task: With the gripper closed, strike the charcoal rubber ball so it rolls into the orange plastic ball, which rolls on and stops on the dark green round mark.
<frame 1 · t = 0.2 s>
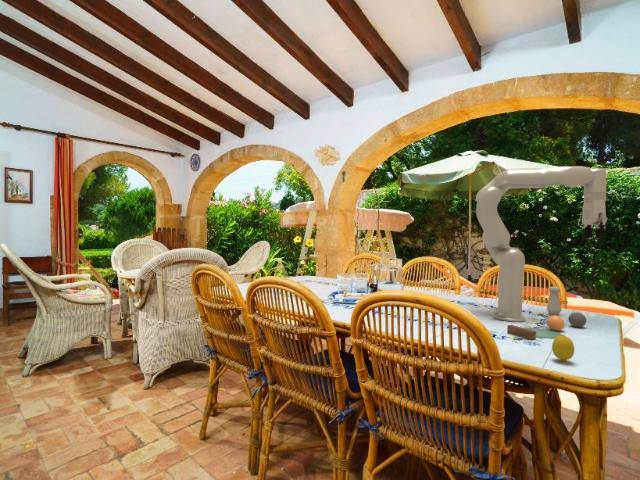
hand: (593, 238, 158), 36 cm above the table, tool pointing down, fingers open, 9 cm apart
green mark: (540, 333, 141), on the table
charcoal ball: (577, 319, 151), on the table
stopper wall: (521, 336, 136), on the table
orange ball: (555, 323, 145), on the table
salt shaker: (553, 314, 174), on the table
lemon: (562, 362, 110), on the table
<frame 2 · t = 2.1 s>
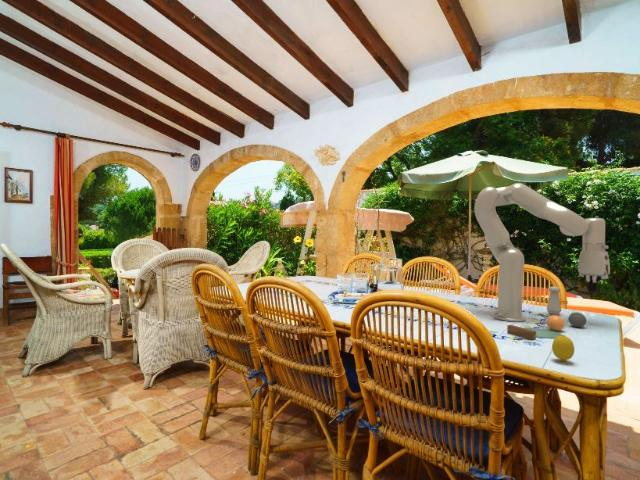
hand: (592, 291, 154), 14 cm above the table, tool pointing down, fingers closed
nothing on the table moved.
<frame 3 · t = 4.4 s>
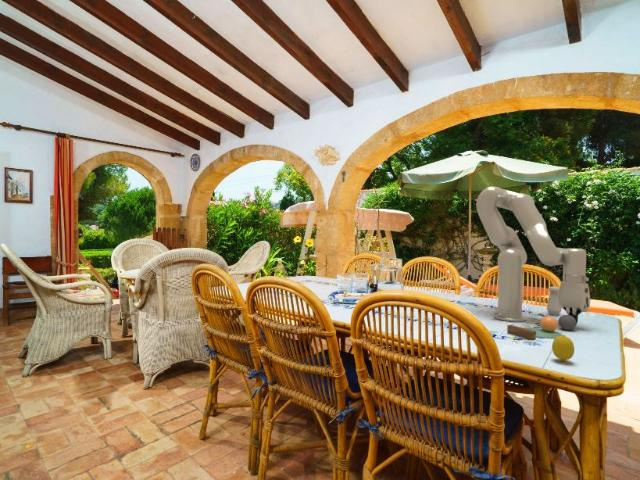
hand: (572, 324, 149), 1 cm above the table, tool pointing down, fingers closed
charcoal ball: (567, 322, 146), on the table
orange ball: (548, 324, 143), on the table
everything else where it was.
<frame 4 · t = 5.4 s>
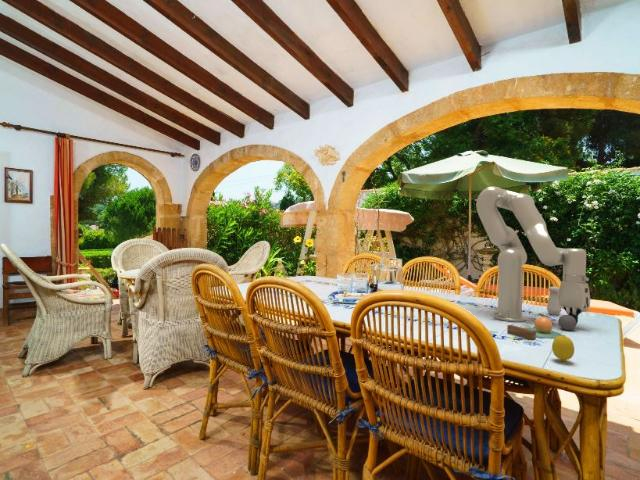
hand: (572, 324, 149), 1 cm above the table, tool pointing down, fingers closed
orange ball: (543, 324, 141), on the table
everything else where it was.
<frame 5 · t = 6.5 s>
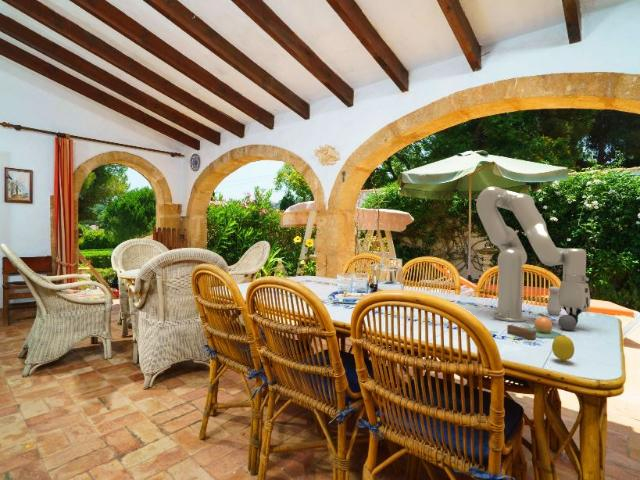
hand: (572, 324, 149), 1 cm above the table, tool pointing down, fingers closed
nothing on the table moved.
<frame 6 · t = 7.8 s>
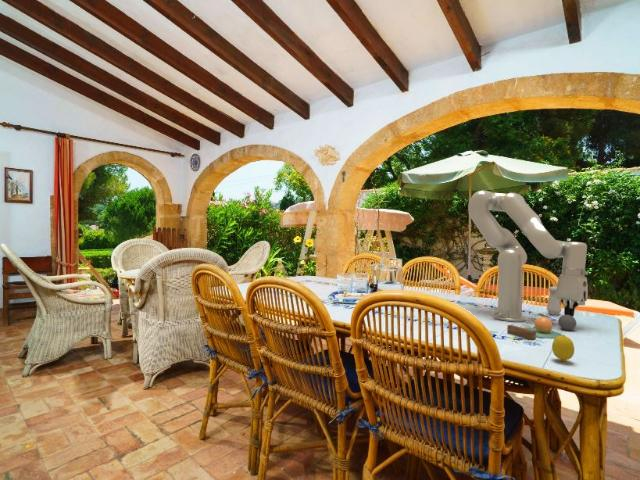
hand: (568, 316, 150), 4 cm above the table, tool pointing down, fingers closed
nothing on the table moved.
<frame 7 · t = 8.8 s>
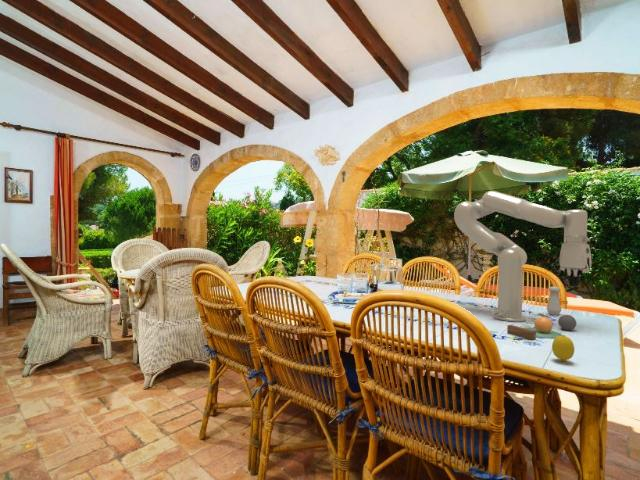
hand: (573, 285, 149), 17 cm above the table, tool pointing down, fingers closed
nothing on the table moved.
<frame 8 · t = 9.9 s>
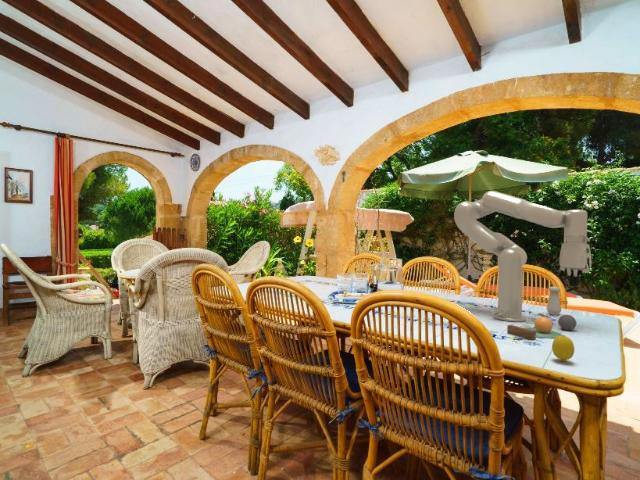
hand: (573, 285, 149), 17 cm above the table, tool pointing down, fingers closed
nothing on the table moved.
at the end: orange ball 1.6 cm from the green mark (horizontally); orange ball never touched the robot; charcoal ball first touched orange ball at 3.9 s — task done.
